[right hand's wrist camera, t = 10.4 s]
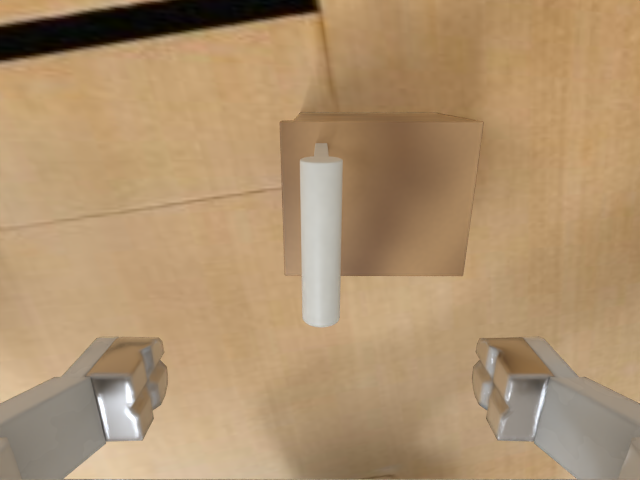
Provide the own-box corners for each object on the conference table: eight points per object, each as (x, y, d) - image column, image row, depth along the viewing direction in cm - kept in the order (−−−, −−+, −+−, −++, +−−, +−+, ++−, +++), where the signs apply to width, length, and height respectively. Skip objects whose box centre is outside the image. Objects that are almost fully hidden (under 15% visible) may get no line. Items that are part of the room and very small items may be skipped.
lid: (285, 269, 28) (270, 346, 19) (281, 120, 24) (259, 135, 16) (458, 270, 28) (517, 347, 19) (477, 120, 24) (560, 135, 16)
